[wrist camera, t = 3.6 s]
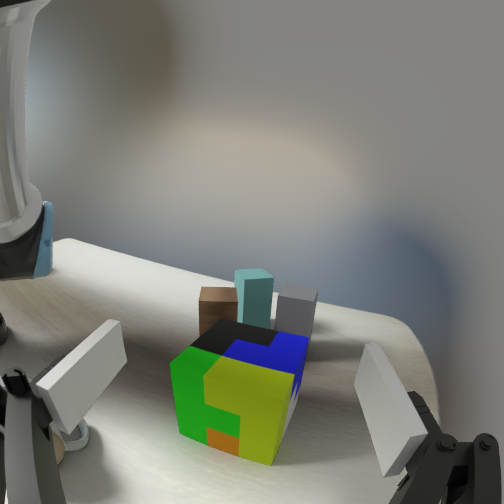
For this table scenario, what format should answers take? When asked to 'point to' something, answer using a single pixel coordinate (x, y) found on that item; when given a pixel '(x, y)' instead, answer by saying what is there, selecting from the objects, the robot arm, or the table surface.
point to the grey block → (296, 310)
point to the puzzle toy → (239, 388)
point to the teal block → (254, 296)
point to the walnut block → (217, 306)
